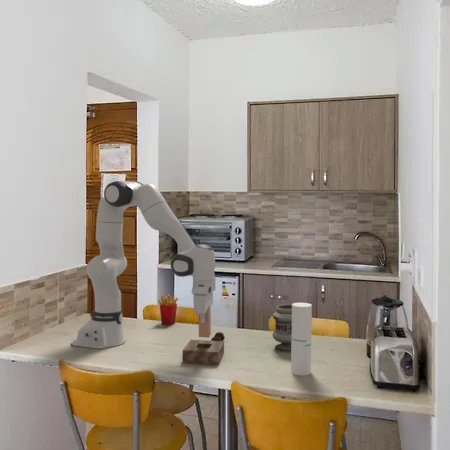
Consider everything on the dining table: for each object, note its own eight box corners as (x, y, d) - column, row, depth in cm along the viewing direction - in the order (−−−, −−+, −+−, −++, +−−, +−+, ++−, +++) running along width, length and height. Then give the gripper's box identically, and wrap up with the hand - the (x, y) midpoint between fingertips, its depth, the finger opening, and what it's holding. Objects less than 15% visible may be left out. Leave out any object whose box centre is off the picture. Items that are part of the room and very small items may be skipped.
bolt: (222, 343, 221) (217, 353, 206) (212, 337, 221) (206, 346, 206) (228, 332, 220) (224, 341, 205) (218, 326, 221) (213, 335, 206)
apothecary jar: (266, 348, 208) (266, 306, 207) (283, 342, 217) (284, 301, 215) (290, 355, 200) (290, 311, 198) (306, 348, 208) (307, 306, 207)
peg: (198, 337, 193) (198, 306, 192) (200, 334, 197) (200, 304, 196) (208, 337, 192) (208, 307, 192) (210, 334, 196) (210, 304, 196)
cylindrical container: (289, 368, 184) (290, 302, 182) (307, 368, 184) (309, 302, 183) (293, 375, 177) (294, 307, 175) (312, 375, 177) (314, 306, 176)
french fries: (165, 321, 250) (165, 292, 249) (180, 323, 247) (180, 293, 246) (156, 325, 242) (156, 295, 241) (171, 327, 239) (171, 297, 238)
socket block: (182, 363, 189) (182, 350, 189) (190, 351, 203) (190, 339, 203) (218, 365, 187) (218, 352, 187) (224, 353, 201) (224, 341, 201)
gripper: (201, 281, 204) (201, 314, 205) (190, 290, 184) (191, 327, 185) (216, 281, 203) (216, 314, 204) (207, 291, 183) (207, 327, 184)
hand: (204, 320), depth 194 cm, fingers closed on peg, 4 cm apart
